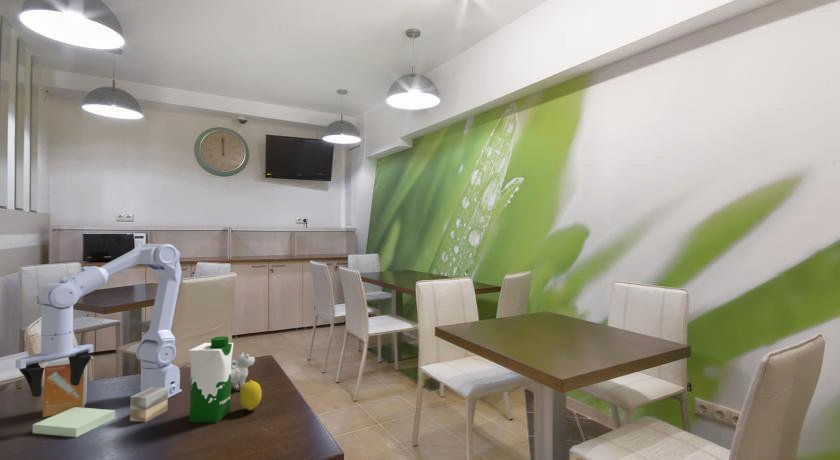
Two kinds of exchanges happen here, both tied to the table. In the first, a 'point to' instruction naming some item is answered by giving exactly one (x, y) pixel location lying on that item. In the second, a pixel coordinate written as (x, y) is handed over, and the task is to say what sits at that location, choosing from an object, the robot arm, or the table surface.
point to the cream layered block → (148, 404)
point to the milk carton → (210, 380)
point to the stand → (74, 422)
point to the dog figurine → (240, 369)
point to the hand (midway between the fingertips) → (56, 390)
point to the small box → (62, 388)
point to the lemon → (250, 395)
